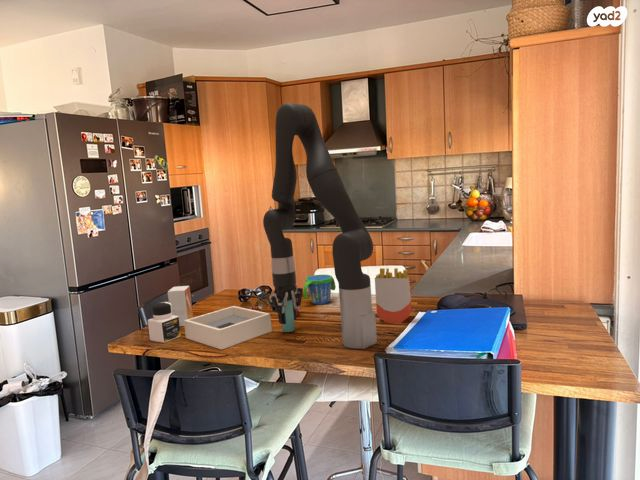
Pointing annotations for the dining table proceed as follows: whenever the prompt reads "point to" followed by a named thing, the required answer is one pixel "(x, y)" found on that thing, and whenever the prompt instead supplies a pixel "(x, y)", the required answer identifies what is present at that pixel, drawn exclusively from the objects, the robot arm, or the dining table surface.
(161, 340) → the medicine bottle
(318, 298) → the snack cup
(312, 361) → the dining table surface
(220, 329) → the crate
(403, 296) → the french fries container
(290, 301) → the peg
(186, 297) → the small box
